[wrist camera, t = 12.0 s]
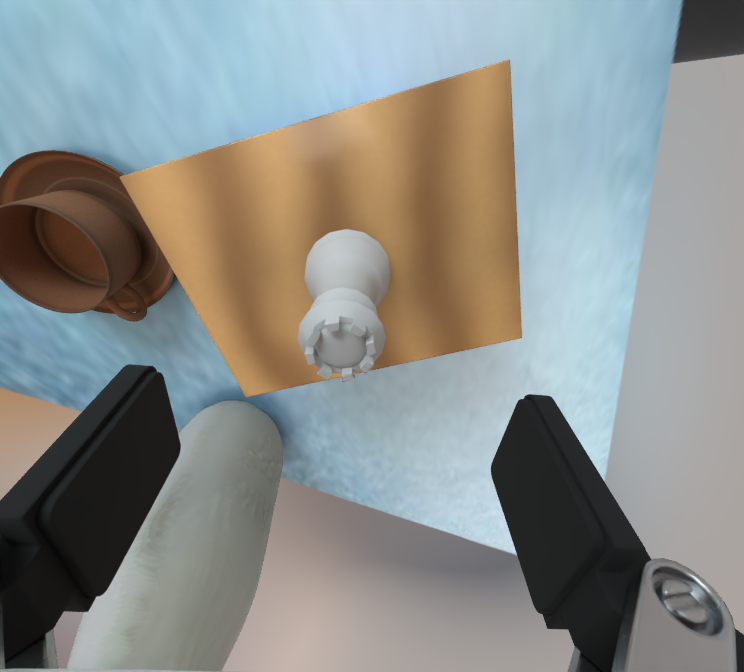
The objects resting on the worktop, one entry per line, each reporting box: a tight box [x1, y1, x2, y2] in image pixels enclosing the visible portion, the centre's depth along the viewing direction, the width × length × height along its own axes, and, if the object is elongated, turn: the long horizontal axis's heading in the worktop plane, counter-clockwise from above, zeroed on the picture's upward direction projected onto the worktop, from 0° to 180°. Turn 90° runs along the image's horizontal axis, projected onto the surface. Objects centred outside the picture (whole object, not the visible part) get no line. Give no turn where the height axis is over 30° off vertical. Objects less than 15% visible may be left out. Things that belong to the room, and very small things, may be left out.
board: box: [120, 60, 522, 397], centre depth 20 cm, size 18×14×1 cm
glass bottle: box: [67, 400, 283, 672], centre depth 27 cm, size 10×10×28 cm
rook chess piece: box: [298, 229, 391, 382], centre depth 16 cm, size 4×4×8 cm
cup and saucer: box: [0, 150, 175, 321], centre depth 26 cm, size 12×12×6 cm
